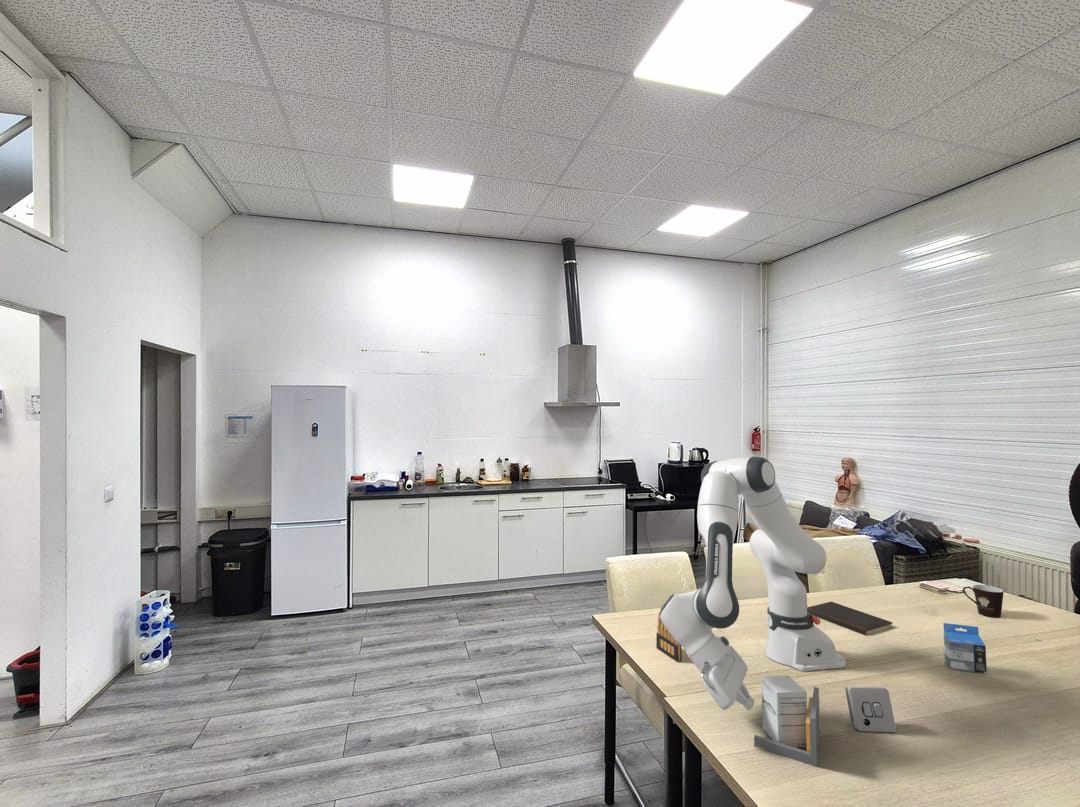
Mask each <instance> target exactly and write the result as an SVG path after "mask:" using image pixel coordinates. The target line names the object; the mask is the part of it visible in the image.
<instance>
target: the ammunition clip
mask: <svg viewBox="0 0 1080 807" xmlns="http://www.w3.org/2000/svg"><path fill="white" fill-rule="evenodd" d="M656 628H657V632H656V649H657V650H658V651H660V652H662V653H663V654H664V655H666V656H668V657H669V658H670V659H672V660H673V661H674V662H676V663H678V662H679V663H680V662H682V661H683V653H682V652H683V650H682V648H683V647H682V646H681V645H680V644H679V643H678V642H676V640H675V639H674V638H673V637H672V635H671V634H670V633H669V631H668V630H667V629H666V627H665V626H664V624H663V622H662V621H661V618H660V611H659V612H658V613H657V625H656Z"/></svg>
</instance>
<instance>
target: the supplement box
mask: <svg viewBox="0 0 1080 807" xmlns="http://www.w3.org/2000/svg"><path fill="white" fill-rule="evenodd" d="M761 707H762V713H761V714H762V717H761V719H762V729H763V730H764V731H765V732H766V733H767V735H768V736H769V737H770V739H771V740H773V741H776V742H779V743H782V744H785V745H788V746H791V747H794V748H807V745H806V717H807V710H808V691H806V689H804V688H803V687H802V686H801V685H800V684H798V682H796V681H795V680H794V678H792V677H791V676H790V675H767V676H761Z"/></svg>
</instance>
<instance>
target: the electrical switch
mask: <svg viewBox="0 0 1080 807" xmlns="http://www.w3.org/2000/svg"><path fill="white" fill-rule="evenodd" d="M844 689H845V695H846V700H847V706H848V712H849V717H850V723H851V724H852V725H853V727H854V729H855V730H856V731H858V732H874V733H875V732H879V733H880V732H881V733H896V731H897V728H896V727H897V726H896V723H895V716H894V712H893V707H892V702H891V697H890V692H889V690H888V689H887V688H885V687H884V686H883V687H881V686H880V687H878V686H848V687H844Z"/></svg>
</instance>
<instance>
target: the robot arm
mask: <svg viewBox="0 0 1080 807" xmlns="http://www.w3.org/2000/svg"><path fill="white" fill-rule="evenodd" d="M700 473H701V474H700V481H701V486H700V490H699V494H698V499H697V500H698V501H697V508H696V509H697V511H696V512H697V513H696V518H697V519H696V520H697V522H696V523H697V528H698V532H699V533H700V535H701V536H702V538H703V540H704V541H705V545H706V559H705V560H706V562H705V563H706V565H705V580H704V583H703V585H702V587H701V588H700V587H699V588H698V589H695V590H693V591H687V592H684V593H683V592H682V593H673V594H671V595H670V596H669V597H668V598H667V599H666V601H665V602H664V604H663V605H661V606H662V607H661V608H660V611H659V612H660V618H661V621H662V622H663V624H664V626H665V627H666V629H667V630H668V631H669V633H670V634H671V635H672V637H673V638H674V639H675V640H676V642H678V643H679V644H680V645H681V648H683V650H684V651H685V653H686V655H687V657H688V658H689V659H690V660H691V661H692V663H693V664H694V665H695V667H696V668H697V669H698V670H699V671H700V674H701V679H702V684H703V686H704V687H705V689H706V690H707V692H708V694H709V695H710V696H711V698H712V699H713V700H714V702H715V703H716V704H717V706H718V708H720V709H722V710H723V711H725V710H728V709H730V707H732V706H733V705H734V704H735V703H736V702H738V703H739V704H741V705H742V706H743V707H744V708H745V709H746V711H750V710H752V709H753V707H754V705H755V699H754V697H752V696H751V694H750V693H749V689H748V688H747V686H746V685H745V683H743V682H744V680H745V677H746V675H747V672H748V670H749V669H748V666H747V664H746V662H745V660H743V658H742V656H740V654H739V652H738V651H736V649H735V648H734V647H733V646H732V645H730V640H729V639H728V638H727V637H726V636H724V635H723V636H716V635H715V633H714V632H713V628H715V629H719V630H720V629H726V628H730V627H731V626H732V625H734V624H735V622H737V620H738V618H739V614H740V602H739V599H738V597H737V595H736V591H735V589H734V585H733V550H734V549H733V548H734V544H735V542H734V541H735V537H736V531H737V529H738V520H739V495H742V498H743V501H744V502H745V505H746V507H747V509H748V512H749V514H750V517H751V518H752V519H751V520H752V521H753V523H754V524H755V526H756V527H757V528H758V529H756V530H754V531H753V532H752V534H751V536H750V538H749V547H750V551H751V552H752V554H754V556H755V557H756V560H757V561H758V562H759V564H760V566H761V569H762V571H763V573H764V577H765V580H766V585H767V595H768V597H767V598H768V599H767V600H768V607H767V609H766V610H767V613H766V614H767V617H766V619H767V620H766V621H767V626H768V631H767V637H766V638H767V640H766V643H765V648H764V654H765V655H766V656H767V657H768V658H769V659H771V660H773V661H775V662H777V663H779V664H782V665H785V666H789V667H792V668H794V669H796V670H799V671H802V672H808V671H818V670H819V671H820V670H831V669H842V668H846V666H847V665H846V660H845V659H844V657H843V656H842V655H841V654H840V653H838V652H837V648H836V646H835V644H834V642H833V640H832V639H831V638H830V636H828V635H827V634H826V633H824V631H822V630H821V629H820V628H818V627H817V626H818V625H820V624H821V622H822V621H821V620H822V619H821V618H818V617H816V616H813V615H812V614H810V613H809V612H807V607H808V593H807V592H808V591H807V587H806V586H805V585H804V584H803V582H802V580H800V579H799V577H798V576H797V574H796V572H797V573H798V574H799V573H800V574H807V575H817V574H820V573H821V572H822V571H823V570H824V569H825V566H826V565H827V558H828V557H827V552H826V550H825V548H824V547H823V546H822V545H821V543H819V542H818V541H816V540H815V539H813V537H811V536H810V535H809V534H808V533H807V532H806V531H805V530H804V528H802V526H801V525H800V524H799V522H797V520H796V519H795V518H794V516H793V514H792V513H791V511H790V509H789V507H788V505H787V503H786V501H785V499H784V497H783V494H782V492H781V489H780V487H779V486H778V484H777V482H776V471H775V468H774V466H773V464H772V463H771V462H770V461H769V460H768V459H767V458H765V457H762V456H750V457H749V456H748V457H746V456H745V457H742V456H741V457H733V458H728V459H727V458H726V459H724V460H719V461H718V460H715V461H714V460H713V461H711V462H708V463H706V464H705V465H704V467H703V468H702V469H701V472H700ZM814 624H815V625H817V626H815V625H814Z"/></svg>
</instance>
